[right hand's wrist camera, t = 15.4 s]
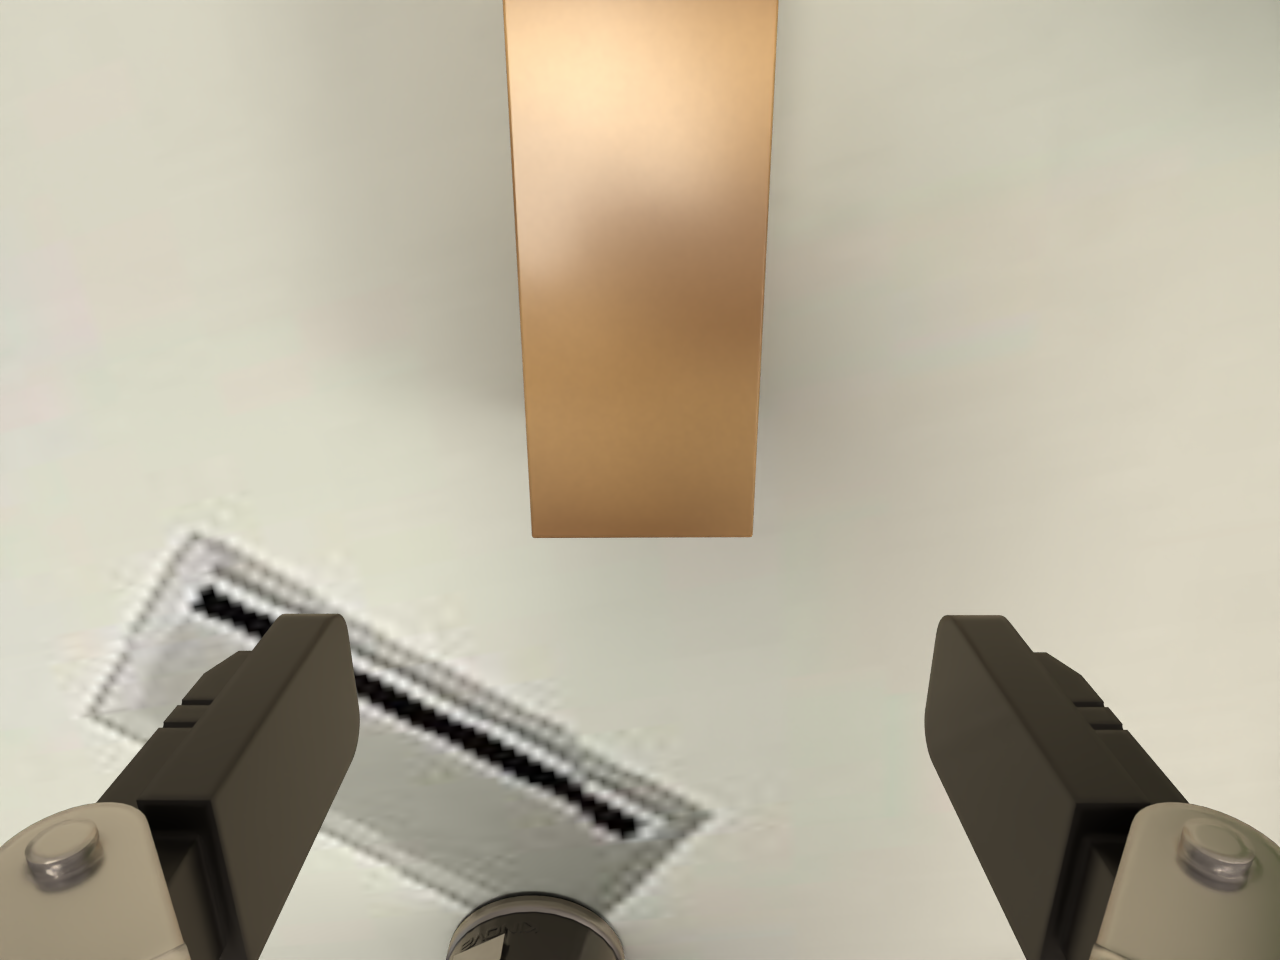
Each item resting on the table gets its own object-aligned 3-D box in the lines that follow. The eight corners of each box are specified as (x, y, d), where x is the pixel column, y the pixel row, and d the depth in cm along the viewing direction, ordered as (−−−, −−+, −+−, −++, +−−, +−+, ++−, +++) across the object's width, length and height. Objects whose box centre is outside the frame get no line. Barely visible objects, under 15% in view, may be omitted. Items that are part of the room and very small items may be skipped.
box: (718, 419, 35) (752, 538, 24) (564, 420, 35) (531, 538, 24) (746, -501, 25) (827, -996, 14) (530, -500, 25) (448, -995, 14)
